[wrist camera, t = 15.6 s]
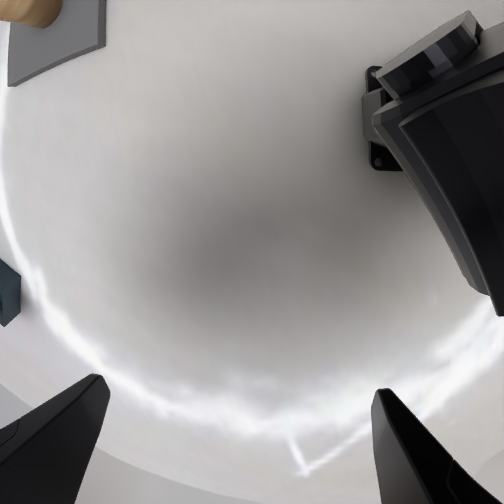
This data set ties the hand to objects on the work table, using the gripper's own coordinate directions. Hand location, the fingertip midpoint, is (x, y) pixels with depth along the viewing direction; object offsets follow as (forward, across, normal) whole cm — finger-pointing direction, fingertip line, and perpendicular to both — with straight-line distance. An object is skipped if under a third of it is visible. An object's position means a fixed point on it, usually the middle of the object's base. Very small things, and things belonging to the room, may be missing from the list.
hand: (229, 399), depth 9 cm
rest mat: (+13, +15, -20) cm, 28 cm away
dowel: (+12, +15, -20) cm, 28 cm away
